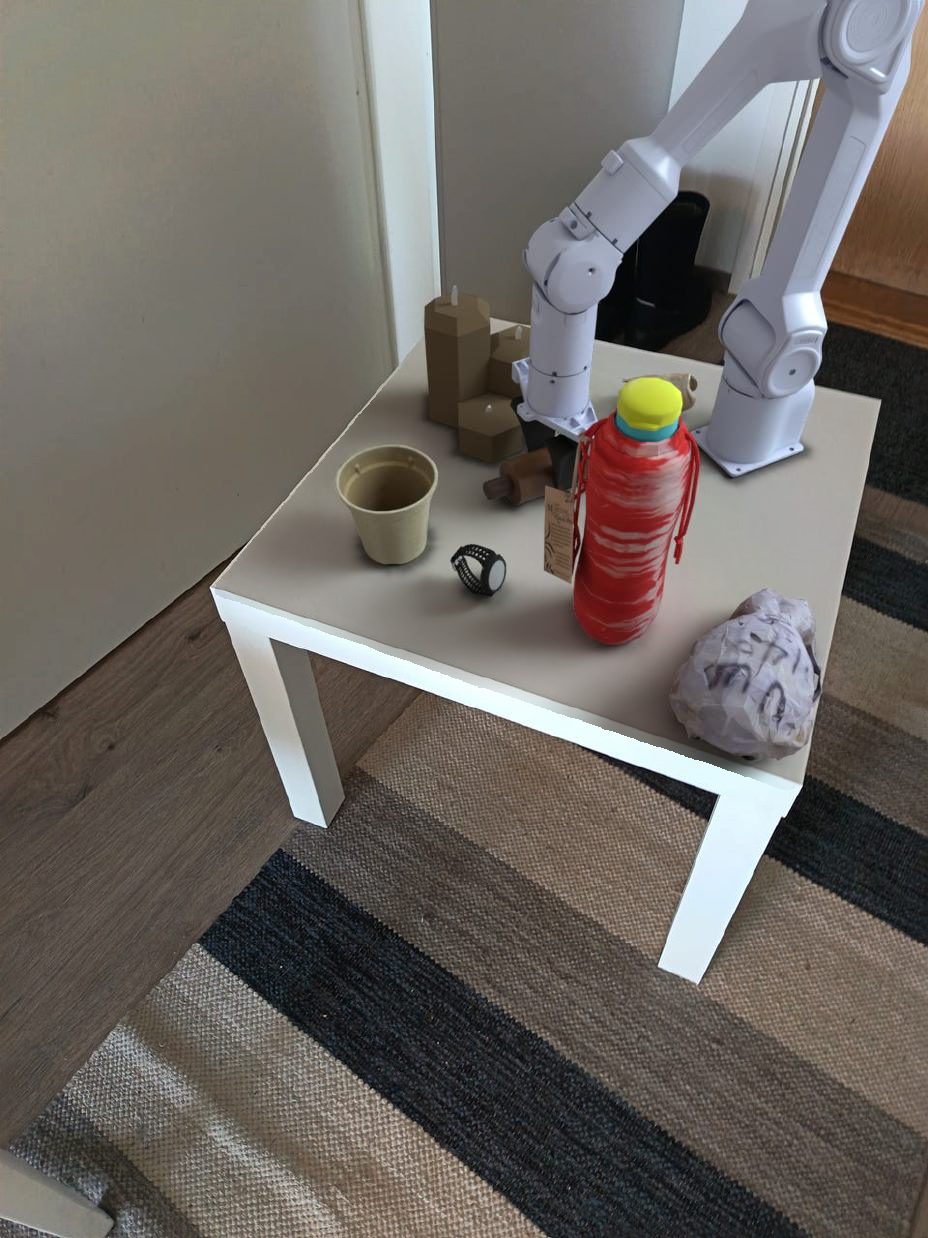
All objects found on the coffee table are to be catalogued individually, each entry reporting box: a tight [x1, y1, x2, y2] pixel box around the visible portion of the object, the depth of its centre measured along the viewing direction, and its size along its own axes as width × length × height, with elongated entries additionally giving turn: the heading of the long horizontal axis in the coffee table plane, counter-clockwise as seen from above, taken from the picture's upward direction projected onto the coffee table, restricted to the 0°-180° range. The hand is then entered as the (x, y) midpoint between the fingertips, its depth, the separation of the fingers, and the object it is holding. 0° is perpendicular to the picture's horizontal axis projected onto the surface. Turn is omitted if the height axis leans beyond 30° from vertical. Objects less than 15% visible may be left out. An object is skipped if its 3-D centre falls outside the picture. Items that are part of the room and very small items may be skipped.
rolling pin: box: [482, 446, 588, 506], centre depth 88 cm, size 15×5×5 cm, turn 117°
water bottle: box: [543, 378, 701, 645], centre depth 69 cm, size 12×8×25 cm, turn 71°
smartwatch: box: [449, 543, 507, 598], centre depth 79 cm, size 4×5×5 cm
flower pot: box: [334, 443, 439, 565], centre depth 82 cm, size 9×9×9 cm
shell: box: [621, 372, 698, 413], centre depth 96 cm, size 8×4×5 cm, turn 84°
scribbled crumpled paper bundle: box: [668, 587, 823, 764], centre depth 69 cm, size 19×12×10 cm, turn 137°
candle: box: [423, 285, 530, 464], centre depth 92 cm, size 14×14×15 cm
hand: (552, 472), depth 89 cm, fingers closed on rolling pin, 4 cm apart
